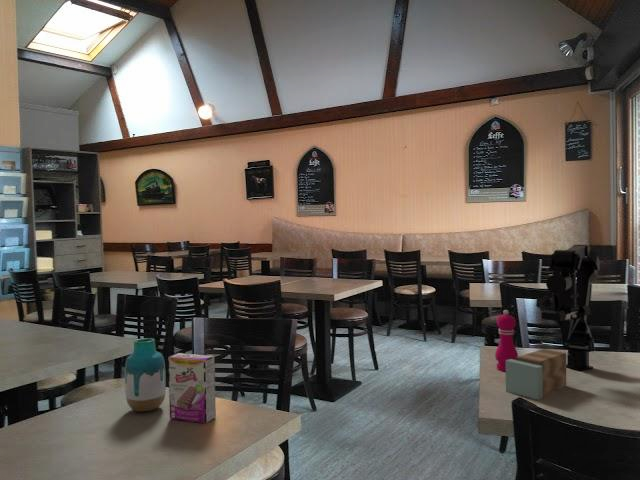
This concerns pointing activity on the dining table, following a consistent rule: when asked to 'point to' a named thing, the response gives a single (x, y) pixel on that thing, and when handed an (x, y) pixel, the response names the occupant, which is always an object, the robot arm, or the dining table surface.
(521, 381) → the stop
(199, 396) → the candy bar box
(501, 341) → the pepper mill
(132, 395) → the vase
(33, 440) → the dining table surface
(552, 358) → the wooden block
